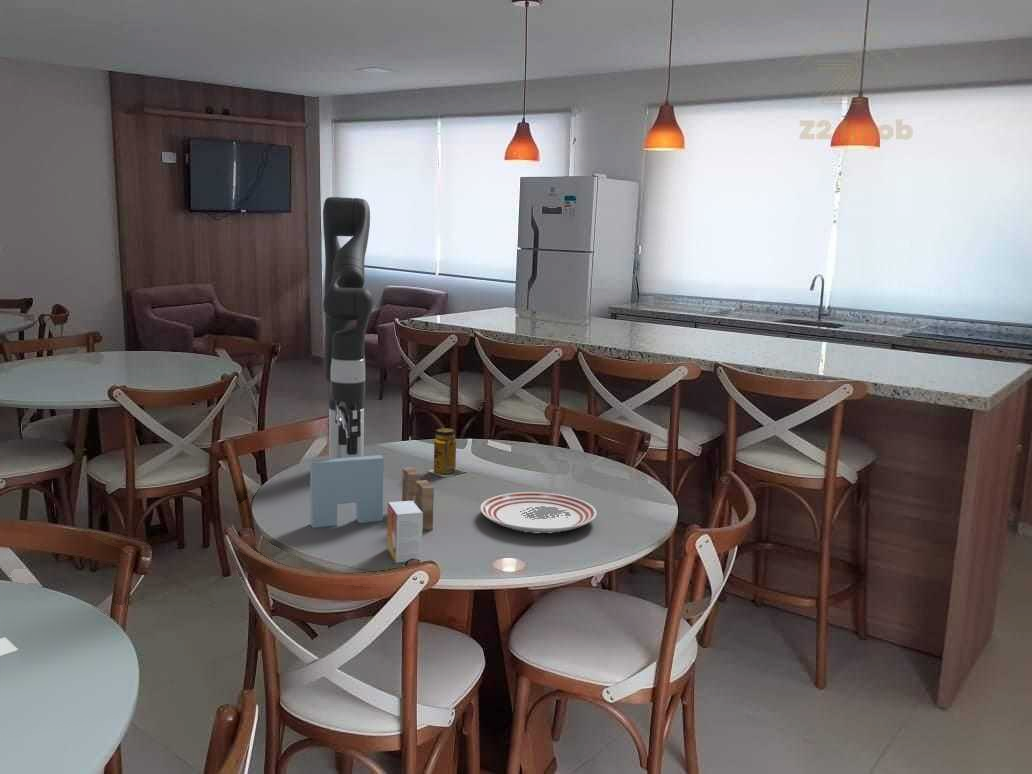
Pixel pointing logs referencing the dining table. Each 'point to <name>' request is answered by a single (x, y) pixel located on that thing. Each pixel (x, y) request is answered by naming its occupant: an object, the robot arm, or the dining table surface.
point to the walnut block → (419, 495)
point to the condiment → (445, 453)
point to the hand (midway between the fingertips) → (347, 449)
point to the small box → (404, 531)
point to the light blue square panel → (346, 488)
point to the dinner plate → (511, 504)
